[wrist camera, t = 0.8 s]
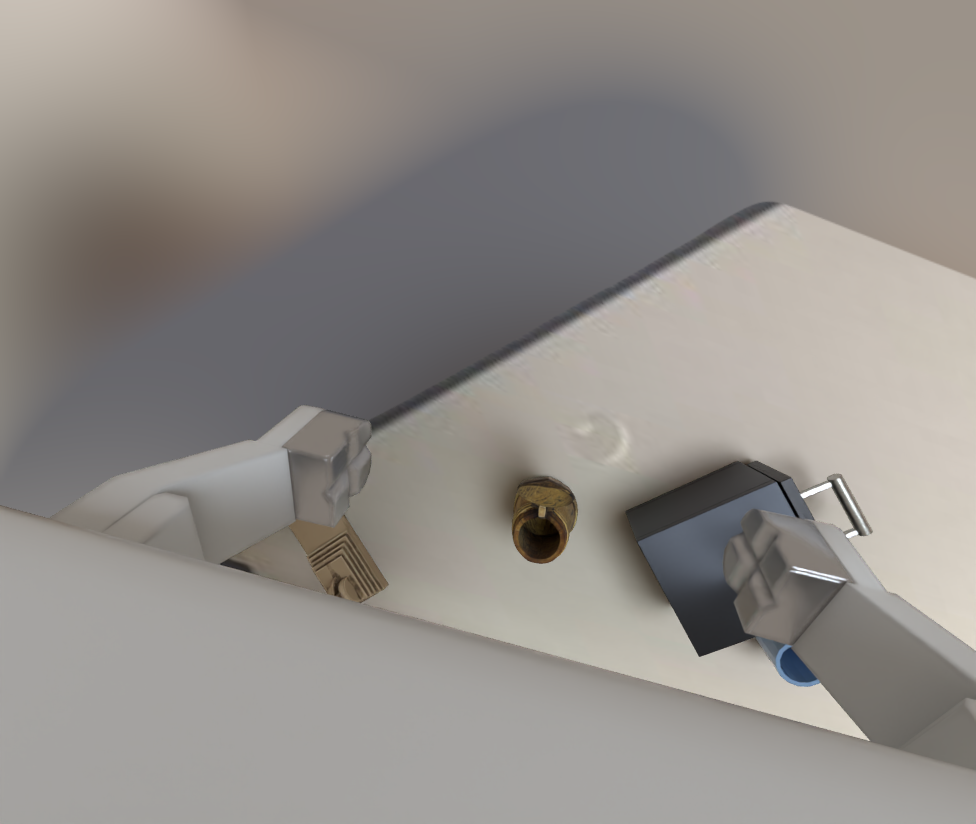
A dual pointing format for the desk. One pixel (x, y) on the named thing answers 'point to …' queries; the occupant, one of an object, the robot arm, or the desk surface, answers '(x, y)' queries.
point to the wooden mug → (543, 518)
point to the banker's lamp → (339, 560)
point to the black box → (703, 547)
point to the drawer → (833, 481)
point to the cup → (787, 663)
